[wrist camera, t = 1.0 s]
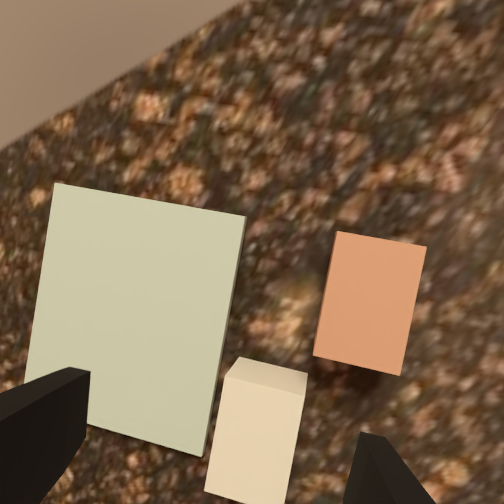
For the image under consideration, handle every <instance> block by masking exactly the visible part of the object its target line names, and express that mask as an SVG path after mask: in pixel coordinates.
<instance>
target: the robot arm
mask: <svg viewBox="0 0 504 504" xmlns="http://www.w3.org/2000/svg"><path fill="white" fill-rule="evenodd" d="M90 377H91V371H88V370H83V369H79V368H74V367H67V368H63V369H60V370H58V371H55V372H52V373H50V374H47V375H45V376H42V377H40V378H37V379H35V380H32V381H30V382H27V383H25V384H22V385H20V386H17V387H15V388H12V389H10V390H7V391H5V392H2V393H0V504H39V503H40V502H41V501H42V500H43V498H44V497H45V496H46V495H47V493H48V492H49V491H50V490H51V488H52V487H53V486H54V485H55V483H56V482H57V481H58V479H59V478H60V477H61V476H62V474H63V473H64V471H65V470H66V468H67V467H68V465H69V464H70V462H71V460H72V459H73V457H74V456H75V454H76V452H77V451H78V449H79V447H80V446H81V444H82V443H83V441H84V439H85V438H86V428H87V415H88V403H89V390H90ZM343 504H436V503H435V502H434V500H433V499H432V498H431V497H430V495H429V494H428V493H427V492H426V490H425V489H424V488H423V486H422V485H421V484H420V482H419V481H418V480H417V479H416V477H415V476H414V475H413V473H412V472H411V471H410V469H409V468H408V467H407V465H406V464H405V463H404V461H403V460H402V459H401V457H400V456H399V455H398V453H397V452H396V451H395V449H394V448H393V447H392V445H391V444H390V443H389V441H388V440H387V439H386V438H385V437H382V436H378V435H373V434H369V433H364V432H360V436H359V440H358V443H357V447H356V451H355V455H354V459H353V463H352V467H351V471H350V474H349V478H348V482H347V486H346V490H345V494H344V498H343Z"/></svg>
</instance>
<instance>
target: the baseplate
mask: <svg viewBox="0 0 504 504" xmlns="http://www.w3.org/2000/svg"><path fill="white" fill-rule="evenodd" d="M246 222H247V217H245V216H239V215H233V214H228V213H222V212H216V211H211V210H205V209H200V208H194V207H188V206H183V205H177V204H171V203H166V202H160V201H155V200H149V199H143V198H138V197H132V196H126V195H121V194H115V193H110V192H104V191H98V190H93V189H87V188H81V187H76V186H70V185H65V184H59V183H55V185H54V192H53V198H52V205H51V211H50V218H49V224H48V231H47V237H46V244H45V250H44V257H43V263H42V270H41V276H40V283H39V289H38V296H37V302H36V309H35V315H34V322H33V328H32V335H31V341H30V348H29V354H28V361H27V367H26V374H25V380H24V384H25V383H27V382H30V381H32V380H35V379H37V378H40V377H42V376H45V375H47V374H50V373H52V372H55V371H58V370H60V369H63V368H67V367H74V368H79V369H83V370H88V371H91V377H90V390H89V403H88V415H87V424H91V425H94V426H97V427H101V428H104V429H108V430H111V431H114V432H118V433H121V434H125V435H128V436H132V437H135V438H138V439H142V440H145V441H149V442H152V443H155V444H159V445H162V446H166V447H169V448H173V449H176V450H179V451H183V452H186V453H190V454H193V455H196V456H200V457H202V455H203V454H204V452H205V447H206V442H207V436H208V431H209V425H210V420H211V414H212V409H213V403H214V398H215V392H216V387H217V381H218V376H219V370H220V365H221V359H222V354H223V348H224V343H225V337H226V332H227V326H228V321H229V315H230V310H231V304H232V299H233V293H234V288H235V282H236V277H237V271H238V266H239V260H240V255H241V249H242V244H243V238H244V233H245V227H246Z"/></svg>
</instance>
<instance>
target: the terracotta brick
mask: <svg viewBox="0 0 504 504" xmlns="http://www.w3.org/2000/svg"><path fill="white" fill-rule="evenodd" d="M426 248H427V247H424V246H418V245H413V244H407V243H402V242H396V241H390V240H385V239H379V238H373V237H368V236H362V235H356V234H351V233H345V232H340V231H337V232H336V233H335V237H334V242H333V247H332V252H331V257H330V263H329V268H328V273H327V278H326V283H325V288H324V293H323V298H322V304H321V309H320V314H319V319H318V324H317V329H316V334H315V340H314V350H313V356H317V357H322V358H326V359H330V360H334V361H339V362H343V363H347V364H351V365H356V366H360V367H364V368H369V369H373V370H377V371H381V372H386V373H390V374H394V375H398V376H400V372H401V368H402V363H403V358H404V353H405V348H406V344H407V339H408V334H409V329H410V324H411V320H412V315H413V310H414V305H415V300H416V296H417V291H418V286H419V281H420V276H421V272H422V267H423V262H424V257H425V252H426Z"/></svg>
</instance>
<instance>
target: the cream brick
mask: <svg viewBox="0 0 504 504" xmlns="http://www.w3.org/2000/svg"><path fill="white" fill-rule="evenodd" d="M307 376H308V373H304V372H300V371H296V370H292V369H287V368H283V367H279V366H275V365H271V364H267V363H263V362H258V361H254V360H250V359H246V358H242V357H239V358H238V359H237V361H236V362H235V363H234V365H233V366H232V367H231V369H230V370H229V371H228V373H227V374H226V375H225V379H224V384H223V390H222V395H221V401H220V406H219V412H218V417H217V423H216V428H215V434H214V439H213V445H212V450H211V456H210V461H209V467H208V472H207V478H206V483H205V489H204V491H206V492H209V493H213V494H216V495H219V496H222V497H226V498H229V499H232V500H235V501H239V502H242V503H245V504H284V502H285V497H286V491H287V486H288V481H289V476H290V471H291V466H292V461H293V455H294V450H295V445H296V440H297V435H298V430H299V425H300V419H301V414H302V409H303V404H304V399H305V392H306V384H307Z"/></svg>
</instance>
